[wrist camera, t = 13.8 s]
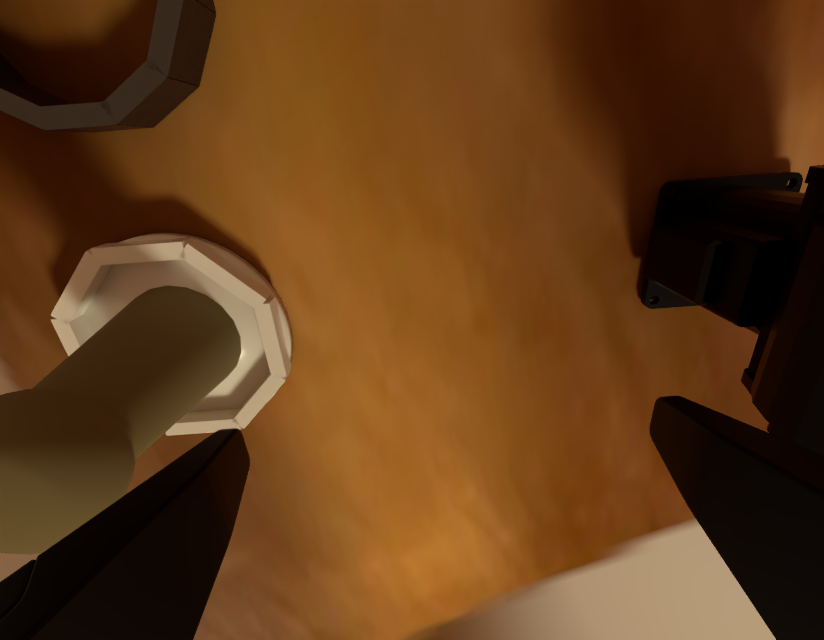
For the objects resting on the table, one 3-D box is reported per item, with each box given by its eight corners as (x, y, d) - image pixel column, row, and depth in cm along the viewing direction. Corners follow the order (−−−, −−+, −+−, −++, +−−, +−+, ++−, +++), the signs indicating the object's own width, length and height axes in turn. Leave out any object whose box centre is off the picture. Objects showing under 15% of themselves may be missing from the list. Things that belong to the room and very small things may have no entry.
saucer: (269, 224, 19) (256, 231, 18) (309, 409, 24) (302, 428, 22) (44, 241, 19) (11, 250, 18) (127, 422, 24) (107, 442, 22)
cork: (109, 353, 21) (-156, 542, 11) (146, 262, 19) (-134, 392, 9) (215, 403, 23) (67, 609, 13) (260, 323, 21) (126, 493, 11)
